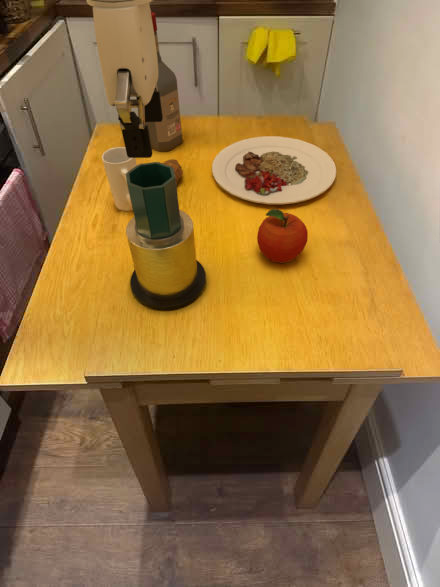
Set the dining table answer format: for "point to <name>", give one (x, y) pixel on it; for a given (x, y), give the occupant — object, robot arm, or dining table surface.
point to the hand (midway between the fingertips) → (146, 137)
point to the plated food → (274, 170)
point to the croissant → (175, 168)
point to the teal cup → (154, 199)
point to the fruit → (281, 236)
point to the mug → (119, 175)
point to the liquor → (165, 106)
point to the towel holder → (166, 267)
